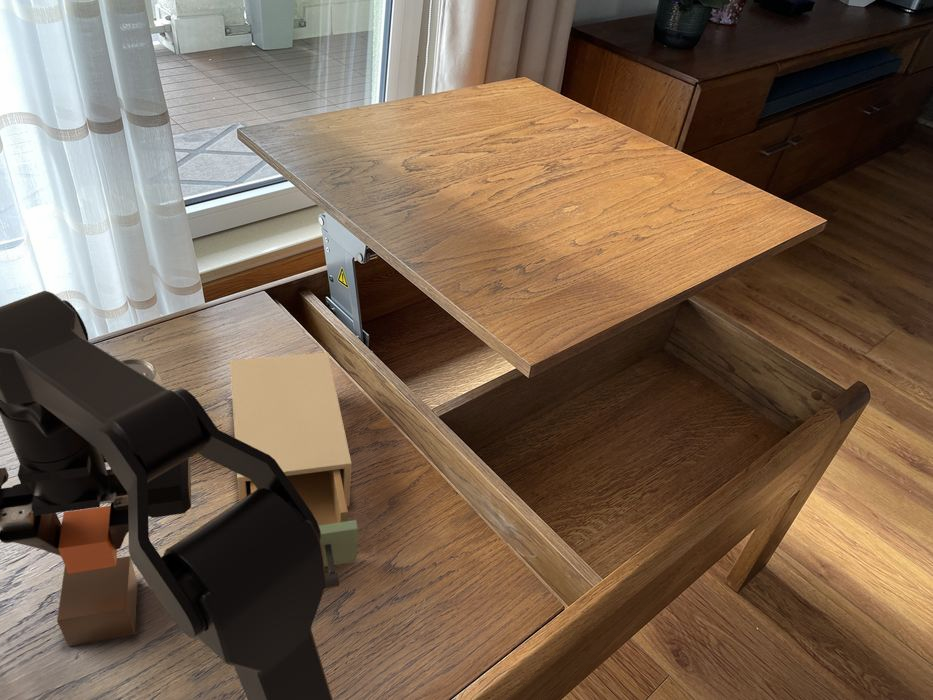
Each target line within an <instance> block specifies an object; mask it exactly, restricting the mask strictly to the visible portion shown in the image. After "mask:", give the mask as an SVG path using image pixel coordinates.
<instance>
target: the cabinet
mask: <svg viewBox="0 0 933 700" xmlns="http://www.w3.org/2000/svg"><path fill="white" fill-rule="evenodd" d="M229 367H230V381H231V383H230V384H231V393H232V394H231V397H232V398H231V399H232V412H233V414H232V415H233V431H234V438H236V439H238V440H240V441H242V442H244V443H246V444H248V445H250V446H252V447H254V448H256V449H258V450H260V451H262V452H264V453H266V454H268V455H270V456H271V457H272V458H273V459H275V461H276V462H277V463H278V465H279V466H280V468H281V469H282V471H283V472H284V473H285V475H286V476H290V475H298V474H305V473H313V472H321V471H329V470H337V469H340V474H341V479H342V484H343V489H344V494H345V499H346V505H347V507H350V497H351V481H352V480H351V479H352V459H351V455H350V450H349V445H348V439H347V435H346V430H345V426H344V421H343V417H342V412H341V405H340V401H339V397H338V393H337V389H336V383H335V378H334V373H333V370H332V369H333V368H332V364H331V359H330V354H329V352H318V353H317V352H315V353H305V354H303V353H302V354H292V355H280V356H268V357H267V356H266V357H254V358H242V359H241V358H239V359H232V360H231V359H230V360H229ZM236 478H237V486H238V496H239V501H241V500H242V499H244V498H245V497H247V496H248V495H250V494H251V486H250V481H251V480H250V479H249V478H246V477H244V476H242V475H240V474H238V473H236Z"/></svg>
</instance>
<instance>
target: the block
mask: <svg viewBox="0 0 933 700" xmlns="http://www.w3.org/2000/svg"><path fill="white" fill-rule="evenodd" d="M110 508H111V505H106V506H100V507H96V508H89V509H81V510H74V511H66V512H62V513H63V514H62V521H61V524H62V526H61V533H60V539H59V546H58V550H59V552H60V554H61V556H60V558H61V560H62V562H63V565H64V567H66V569H67V572H68V573H76V572H82V571H88V570H94V569H101V568H107V567H113V566H116V559H117V558H118V549H115V547H114V546H113V544H112V539H111V534H110V529H109V519H110Z"/></svg>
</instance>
